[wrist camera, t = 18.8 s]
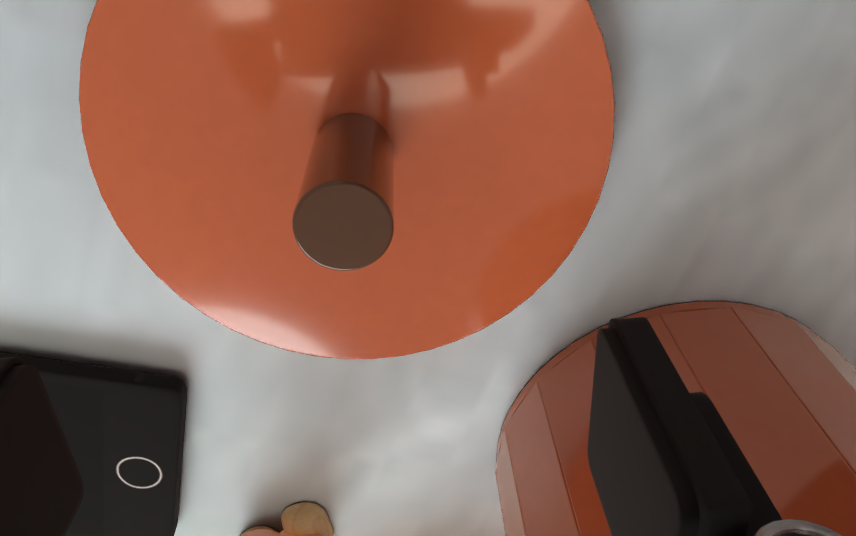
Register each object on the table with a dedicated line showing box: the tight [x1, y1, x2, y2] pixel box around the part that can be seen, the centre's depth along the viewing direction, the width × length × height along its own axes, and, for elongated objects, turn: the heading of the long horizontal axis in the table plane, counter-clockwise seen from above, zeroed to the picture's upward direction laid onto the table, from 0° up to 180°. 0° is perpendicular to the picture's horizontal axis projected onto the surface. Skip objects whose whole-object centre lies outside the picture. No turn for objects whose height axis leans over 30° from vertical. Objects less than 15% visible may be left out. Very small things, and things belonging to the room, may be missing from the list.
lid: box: [79, 0, 615, 359], centre depth 19 cm, size 16×16×6 cm
